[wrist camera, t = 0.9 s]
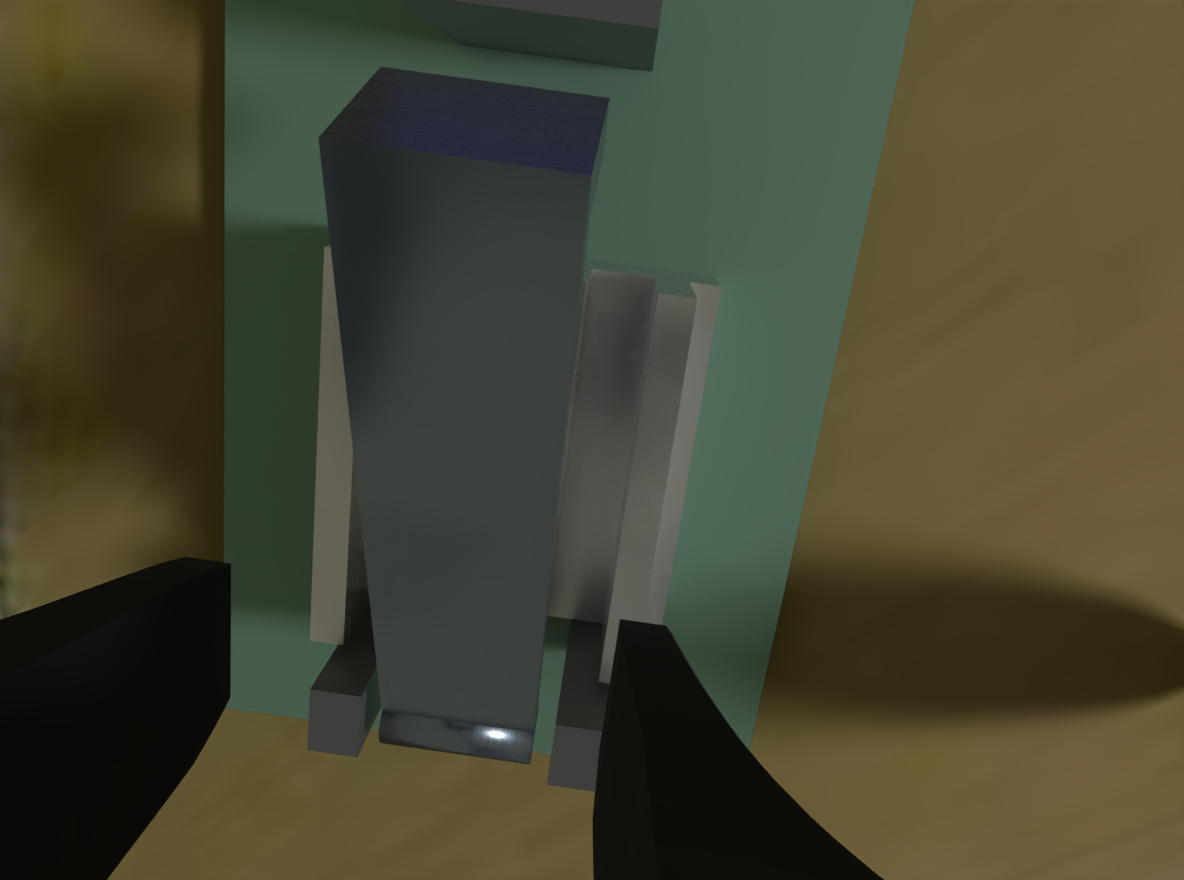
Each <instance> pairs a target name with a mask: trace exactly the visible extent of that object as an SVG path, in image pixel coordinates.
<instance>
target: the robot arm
mask: <svg viewBox="0 0 1184 880" xmlns="http://www.w3.org/2000/svg"><path fill="white" fill-rule="evenodd" d="M230 690H231V563H224V562H217V561H210V560H203V559H196V558H189V557H184V558H180V559H175V560H171V561H168V562H164V563H161V564H158V565H155V566H151V567H148V568H145V569H143V570H140V571H137V572H134V573H131V574H128V575H125V576H123V577H120V578H117V579H114V580H111V581H109V582H106V583H103V584H101V585H98V586H95V587H92V588H89V589H87V590H84V591H81V592H78V593H76V594H73V595H70V596H67V597H65V598H62V599H59V600H56V601H54V602H51V603H48V604H45V605H43V606H40V607H37V608H34V609H31V610H28V611H25V612H22V613H19V614H16V615H13V616H10V617H7V618H4V619H1V620H0V880H107V879H108V877H109V876H110V875H111V873H112V872H113V871H114V870H115V868H116V867H117V866H118V864H119V863H120V862H121V860H122V859H123V858H124V856H125V855H126V854H127V852H128V851H129V850H130V848H131V847H132V846H133V844H134V843H135V842H136V841H137V839H138V838H139V837H140V835H141V834H142V833H143V831H144V830H145V829H146V827H147V826H148V825H149V823H150V822H151V821H152V819H153V818H154V817H155V815H156V814H157V813H158V811H159V810H160V809H161V807H162V806H163V805H164V803H165V802H166V801H167V799H168V798H169V797H170V795H171V794H172V793H173V791H174V790H175V789H176V787H177V786H178V785H179V783H180V782H181V781H182V779H183V778H184V776H185V775H186V774H187V772H188V771H189V769H190V768H191V767H192V765H193V764H194V762H195V761H196V759H197V757H198V756H199V754H200V752H201V750H202V749H203V747H204V745H205V743H206V742H207V740H208V738H209V737H210V735H211V733H212V731H213V729H214V727H215V726H216V724H217V722H218V720H219V718H220V716H221V714H222V712H223V711H224V709H225V707H226V705H227V703H228V701H229V699H230ZM593 868H594V880H884V879H882V878H881V877H880V876H878V875H877V874H876V873H875V872H873V871H872V870H871V869H870V868H869V867H867V866H866V865H865V864H864V863H863V862H861V861H860V860H859V859H858V858H857V857H856V856H854V855H853V854H852V853H851V852H850V851H849V850H847V849H846V848H845V847H844V846H843V845H841V844H840V843H839V842H838V841H837V840H836V839H834V838H833V837H832V836H831V835H830V834H829V833H828V832H827V831H825V830H824V829H823V828H822V827H821V826H820V825H819V824H818V823H817V822H816V821H815V820H814V819H812V818H811V817H810V816H809V815H808V814H807V813H806V812H805V811H804V810H803V809H802V808H801V807H800V806H799V804H798V803H797V802H796V801H795V800H794V799H793V798H792V797H791V796H790V795H789V794H788V793H787V792H786V791H785V790H784V789H783V788H782V787H781V786H780V785H779V784H778V783H777V782H776V781H775V780H774V779H773V778H772V777H771V775H770V774H769V773H768V772H767V771H766V770H765V769H764V768H763V766H762V765H761V764H760V763H759V762H758V761H757V759H756V758H755V757H754V756H753V754H752V753H751V752H750V751H749V750H748V748H747V747H746V746H745V745H744V743H743V742H742V741H741V740H740V738H739V737H738V736H737V734H736V733H735V732H734V730H733V729H732V728H731V726H730V725H729V723H728V722H727V721H726V719H725V718H724V716H723V715H722V713H721V712H720V710H719V709H718V708H717V706H716V705H715V703H714V702H713V700H712V699H711V697H710V696H709V694H708V693H707V691H706V690H705V688H704V687H703V685H702V684H701V682H700V680H699V679H698V677H697V676H696V674H695V672H694V671H693V669H692V667H691V666H690V664H689V662H688V661H687V659H686V657H685V656H684V654H683V652H682V650H681V649H680V647H679V645H678V643H677V641H676V640H675V638H674V636H673V634H672V633H671V632H670V630H669V629H668V627H667V626H665V625H658V624H651V623H644V622H637V621H630V620H623V619H620V622H619V628H618V634H617V640H616V647H615V653H614V659H613V666H612V672H611V678H610V685H609V691H608V697H607V704H606V710H605V716H604V723H603V729H602V735H601V742H600V748H599V757H598V767H597V778H596V789H595V800H594V811H593Z"/></svg>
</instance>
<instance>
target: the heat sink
mask: <svg viewBox="0 0 1184 880" xmlns="http://www.w3.org/2000/svg"><path fill="white" fill-rule="evenodd" d="M720 292H721V285H720V284H719V283H718V281H717V280H716V279H715V277H708V276H700V275H693V274H686V273H679V272H672V271H664V270H657V269H650V268H643V267H636V266H628V265H621V264H614V263H607V262H599V261H592V260H585V268H584V278H583V287H582V296H581V306H580V315H579V325H578V334H577V343H576V353H575V362H574V372H573V381H572V390H571V400H570V409H569V419H568V428H567V437H566V447H565V456H564V466H563V475H562V484H561V494H560V503H559V513H558V522H557V531H556V541H555V550H554V560H553V569H552V578H551V588H550V597H549V607H548V616H554V617H561V618H568V619H575V620H582V621H589V622H596V623H603V632H602V645H601V658H600V671H599V682H603V683H610V678H611V672H612V666H613V659H614V653H615V647H616V640H617V634H618V628H619V622H620V619H623V620H630V621H637V622H644V623H651V624H658V625H662V623H663V617H664V611H665V606H666V600H667V594H668V588H669V583H670V577H671V571H672V566H673V560H674V554H675V549H676V543H677V537H678V531H679V526H680V520H681V514H682V509H683V503H684V497H685V492H686V486H687V480H688V474H689V469H690V463H691V457H692V452H693V446H694V440H695V435H696V429H697V423H698V417H699V412H700V406H701V400H702V395H703V389H704V383H705V378H706V372H707V366H708V360H709V355H710V349H711V343H712V338H713V332H714V326H715V320H716V315H717V309H718V303H719V298H720ZM369 603H370V600H369V591H368V581H367V572H366V563H365V554H364V545H363V536H362V527H361V518H360V509H359V500H358V491H357V482H356V473H355V464H354V455H353V446H352V437H351V428H350V419H349V410H348V401H347V392H346V383H345V374H344V365H343V356H342V347H341V338H340V329H339V319H338V310H337V301H336V292H335V283H334V274H333V265H332V256H331V247H330V246H326V247H324V267H323V294H322V321H321V348H320V376H319V403H318V430H317V457H316V485H315V512H314V539H313V567H312V594H311V621H310V641H317V642H324V643H331V644H338V645H344V644H345V642H346V640H347V639H348V637H349V635H350V634H351V632H352V631H353V629H354V627H355V626H356V624H357V623H358V621H359V619H360V618H361V616H362V615H363V613H364V611H365V610H366V608H367V607H368V605H369Z"/></svg>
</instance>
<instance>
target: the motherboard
mask: <svg viewBox="0 0 1184 880" xmlns="http://www.w3.org/2000/svg"><path fill="white" fill-rule="evenodd" d="M914 1H915V0H663V2H662V9H661V16H660V23H659V30H658V37H657V44H656V51H655V58H654V65H653V71H647V70H639V69H632V68H625V67H617V66H610V65H603V64H596V63H588V62H581V61H574V60H566V59H559V58H552V57H544V56H537V55H530V54H522V53H515V52H508V51H500V50H493V49H486V48H478V47H471V46H464V45H461V44H460V43H458V42H457V41H455V40H454V39H453V38H451V37H450V36H448V35H447V34H446V33H444V32H443V31H441V30H440V29H439V28H437V27H436V26H435V25H433V24H432V23H430V22H429V21H428V20H426V19H425V18H423V17H422V16H421V15H419V14H418V13H416V12H415V11H414V10H412V9H411V8H410V7H408V6H407V5H405V4H404V3H403V2H401V1H400V0H225V209H224V563H231V690H230V699H229V701H228V703H227V705H226V707H225V708H231V709H238V710H245V711H252V712H259V713H266V714H272V715H279V716H286V717H293V718H300V719H307V720H309V697H310V688H311V687H312V685H313V684H314V682H315V680H316V679H317V677H318V676H319V674H320V673H321V671H322V669H323V668H324V666H325V665H326V663H327V661H328V660H329V658H330V657H331V655H332V654H333V652H334V650H335V649H336V647H337V646H338V644H331V643H324V642H317V641H310V621H311V594H312V567H313V539H314V512H315V485H316V457H317V430H318V403H319V376H320V348H321V321H322V294H323V267H324V247H326V246H330V238H329V229H328V220H327V211H326V202H325V193H324V184H323V175H322V166H321V157H320V148H319V139H318V137H319V136H320V135H321V134H322V133H323V132H324V131H325V129H326V128H327V127H328V126H329V125H330V124H331V123H332V121H333V120H334V119H335V118H336V117H337V116H338V115H339V113H340V112H341V111H342V110H343V109H344V108H345V107H346V106H347V104H348V103H349V102H350V101H351V100H352V99H353V98H354V96H355V95H356V94H357V93H358V92H359V91H360V90H361V89H362V87H363V86H364V85H365V84H366V83H367V82H368V81H369V79H370V78H371V77H372V76H373V75H374V74H375V73H376V71H377V70H378V69H379V68H380V67H387V68H395V69H402V70H409V71H417V72H424V73H431V74H439V75H446V76H453V77H460V78H468V79H475V80H482V81H490V82H497V83H504V84H512V85H519V86H526V87H533V88H541V89H548V90H555V91H563V92H570V93H577V94H585V95H592V96H599V97H606V98H610V101H609V110H608V119H607V128H606V137H605V146H604V155H603V161H602V165H601V170H600V174H599V179H598V183H597V188H596V192H595V197H594V201H593V206H592V210H591V215H590V221H589V230H588V240H587V249H586V259H585V260H592V261H599V262H607V263H614V264H621V265H628V266H636V267H643V268H650V269H657V270H664V271H672V272H679V273H686V274H693V275H700V276H708V277H715V279H716V280H717V281H718V283H719V284H720V285H721V292H720V298H719V303H718V309H717V315H716V320H715V326H714V332H713V338H712V343H711V349H710V355H709V360H708V366H707V372H706V378H705V383H704V389H703V395H702V400H701V406H700V412H699V417H698V423H697V429H696V435H695V440H694V446H693V452H692V457H691V463H690V469H689V474H688V480H687V486H686V492H685V497H684V503H683V509H682V514H681V520H680V526H679V531H678V537H677V543H676V549H675V554H674V560H673V566H672V571H671V577H670V583H669V588H668V594H667V600H666V606H665V611H664V617H663V623H662V625H665V626H667V627H668V629H669V630H670V632H671V633H672V634H673V636H674V638H675V640H676V641H677V643H678V645H679V647H680V649H681V650H682V652H683V654H684V656H685V657H686V659H687V661H688V662H689V664H690V666H691V667H692V669H693V671H694V672H695V674H696V676H697V677H698V679H699V680H700V682H701V684H702V685H703V687H704V688H705V690H706V691H707V693H708V694H709V696H710V697H711V699H712V700H713V702H714V703H715V705H716V706H717V708H718V709H719V710H720V712H721V713H722V715H723V716H724V718H725V719H726V721H727V722H728V723H729V725H730V726H731V728H732V729H733V730H734V732H735V733H736V734H737V736H738V737H739V738H740V740H741V741H742V742H743V743H744V745H745V746H746V747H747V748H748V750H749V749H750V744H751V740H752V735H753V731H754V726H755V722H756V717H757V713H758V708H759V704H760V699H761V695H762V690H763V685H764V681H765V676H766V672H767V667H768V663H769V658H770V654H771V649H772V645H773V640H774V636H775V631H776V627H777V622H778V617H779V613H780V608H781V604H782V599H783V595H784V590H785V586H786V581H787V577H788V572H789V568H790V563H791V559H792V554H793V550H794V545H795V540H796V536H797V531H798V527H799V522H800V518H801V513H802V509H803V504H804V500H805V495H806V491H807V486H808V482H809V477H810V472H811V468H812V463H813V459H814V454H815V450H816V445H817V441H818V436H819V432H820V427H821V423H822V418H823V414H824V409H825V404H826V400H827V395H828V391H829V386H830V382H831V377H832V373H833V368H834V364H835V359H836V355H837V350H838V346H839V341H840V337H841V332H842V327H843V323H844V318H845V314H846V309H847V305H848V300H849V296H850V291H851V287H852V282H853V278H854V273H855V269H856V264H857V259H858V255H859V250H860V246H861V241H862V237H863V232H864V228H865V223H866V219H867V214H868V210H869V205H870V201H871V196H872V191H873V187H874V182H875V178H876V173H877V169H878V164H879V160H880V155H881V151H882V146H883V142H884V137H885V133H886V128H887V123H888V119H889V114H890V110H891V105H892V101H893V96H894V92H895V87H896V83H897V78H898V74H899V69H900V65H901V60H902V56H903V51H904V46H905V42H906V37H907V33H908V28H909V24H910V19H911V15H912V10H913V6H914ZM570 623H571V619H568V618H561V617H554V616H547V626H546V635H545V644H544V654H543V663H542V673H541V682H540V691H539V701H538V702H539V708H538V716H537V723H536V730H535V737H534V743H533V749H532V752H536V753H543V754H550V755H551V753H552V746H553V738H554V731H555V724H556V717H557V711H558V704H559V697H560V690H561V684H562V677H563V670H564V664H565V657H566V650H567V644H568V637H569V630H570ZM609 685H610V683H609ZM381 713H382V708H381V709H380V711H379V713H378V715H377V717H376V719H375V721H374V723H373V726H372V728H371V729H376V730H379V726H380V719H381Z"/></svg>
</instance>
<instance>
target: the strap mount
mask: <svg viewBox="0 0 1184 880" xmlns="http://www.w3.org/2000/svg"><path fill="white" fill-rule="evenodd" d="M400 1H401V2H403V3H404V4H405V5H407V6H408V7H410V8H411V9H412V10H414V11H415V12H416V13H418V14H419V15H421V16H422V17H423V18H425V19H426V20H428V21H429V22H430V23H432V24H433V25H435V26H436V27H437V28H439V29H440V30H441V31H443V32H444V33H446V34H447V35H448V36H450V37H451V38H453V39H454V40H455V41H457V42H458V43H460V44H461V45H464V46H471V47H478V48H486V49H493V50H500V51H508V52H515V53H522V54H530V55H537V56H544V57H552V58H559V59H566V60H574V61H581V62H588V63H596V64H603V65H610V66H617V67H625V68H632V69H639V70H647V71H653V65H654V58H655V51H656V44H657V37H658V30H659V23H660V16H661V9H662V2H663V0H400ZM602 632H603V623H596V622H589V621H582V620H575V619H571V623H570V630H569V637H568V644H567V650H566V657H565V664H564V670H563V677H562V684H561V690H560V697H559V704H558V711H557V717H556V724H555V731H554V738H553V746H552V753H551V760H550V767H549V774H548V782H547V785H553V786H560V787H567V788H574V789H581V790H588V791H594V792H595V789H596V778H597V767H598V757H599V748H600V742H601V735H602V729H603V723H604V716H605V710H606V704H607V697H608V691H609V683H603V682H599V671H600V658H601V645H602ZM380 709H381V699H380V690H379V681H378V672H377V663H376V654H375V645H374V636H373V627H372V618H371V609H370V603H369V605H368V607H367V608H366V610H365V611H364V613H363V615H362V616H361V618H360V619H359V621H358V623H357V624H356V626H355V627H354V629H353V631H352V632H351V634H350V635H349V637H348V639H347V640H346V642H345V644H344V645H338V646H337V647H336V649H335V650H334V652H333V654H332V655H331V657H330V658H329V660H328V661H327V663H326V665H325V666H324V668H323V669H322V671H321V673H320V674H319V676H318V677H317V679H316V680H315V682H314V684H313V685H312V687H311V688H310V697H309V724H308V750H311V751H318V752H325V753H332V754H338V755H345V756H352V757H358V755H359V753H360V751H361V749H362V746H363V744H364V742H365V740H366V738H367V736H368V734H369V732H370V730H371V728H372V726H373V723H374V721H375V719H376V717H377V715H378V713H379V711H380Z"/></svg>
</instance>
